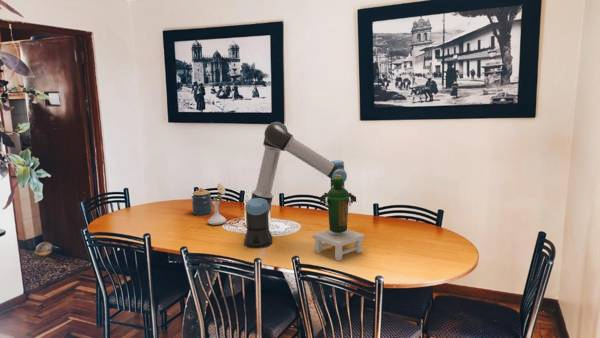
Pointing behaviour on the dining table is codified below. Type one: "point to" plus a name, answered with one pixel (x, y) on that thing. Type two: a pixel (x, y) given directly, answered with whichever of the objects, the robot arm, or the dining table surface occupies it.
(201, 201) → the canister
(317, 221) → the dining table surface
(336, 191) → the bottle
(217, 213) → the flower in vase
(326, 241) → the stool
